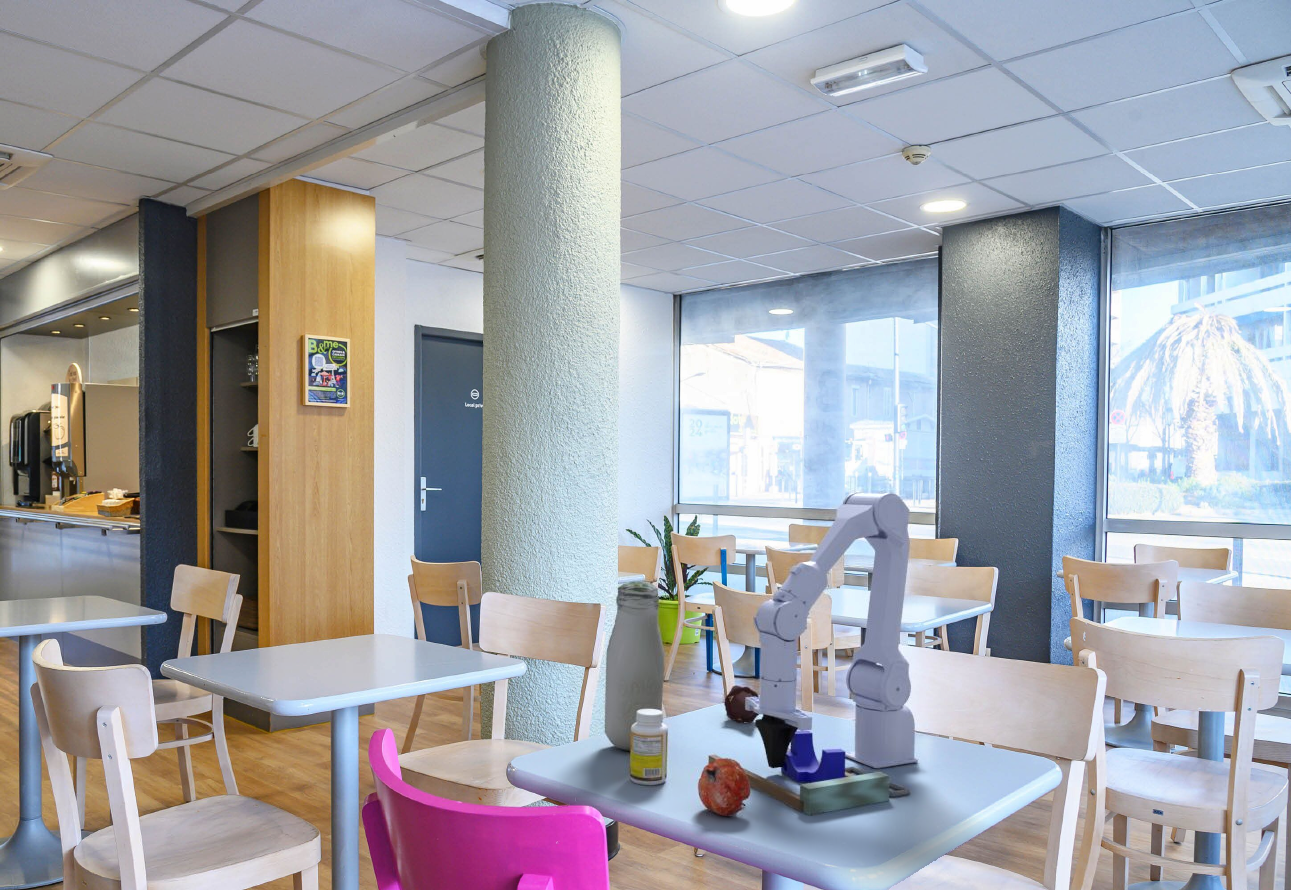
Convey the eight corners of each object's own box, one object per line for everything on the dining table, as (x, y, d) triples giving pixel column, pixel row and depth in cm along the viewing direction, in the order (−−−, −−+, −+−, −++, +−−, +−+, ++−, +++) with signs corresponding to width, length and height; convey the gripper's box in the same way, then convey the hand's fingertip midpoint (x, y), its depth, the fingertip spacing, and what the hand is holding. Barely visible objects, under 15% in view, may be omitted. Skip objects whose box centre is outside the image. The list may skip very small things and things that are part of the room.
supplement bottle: (645, 772, 141) (647, 705, 142) (674, 780, 138) (675, 711, 138) (621, 780, 137) (623, 711, 138) (650, 789, 133) (652, 717, 134)
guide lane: (781, 754, 153) (782, 733, 153) (889, 800, 131) (889, 775, 132) (708, 764, 146) (708, 742, 146) (808, 815, 124) (809, 788, 124)
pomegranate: (717, 816, 129) (672, 781, 125) (746, 772, 131) (703, 736, 127) (747, 840, 123) (701, 804, 119) (778, 793, 125) (733, 756, 121)
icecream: (776, 696, 168) (754, 686, 183) (738, 686, 168) (719, 677, 182) (767, 734, 167) (745, 721, 182) (729, 724, 166) (710, 712, 181)
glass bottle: (610, 758, 148) (615, 584, 150) (598, 741, 158) (603, 578, 160) (669, 755, 150) (673, 584, 152) (653, 739, 160) (658, 578, 162)
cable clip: (781, 770, 144) (782, 731, 145) (807, 768, 146) (808, 730, 146) (816, 794, 133) (817, 752, 133) (844, 793, 134) (845, 751, 134)
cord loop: (852, 770, 145) (852, 765, 145) (911, 794, 134) (911, 789, 134) (834, 772, 144) (834, 768, 144) (892, 797, 133) (892, 792, 133)
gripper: (730, 671, 148) (728, 756, 147) (786, 689, 135) (783, 783, 134) (766, 668, 151) (764, 752, 150) (823, 685, 138) (821, 777, 138)
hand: (775, 766), depth 142 cm, fingers closed
